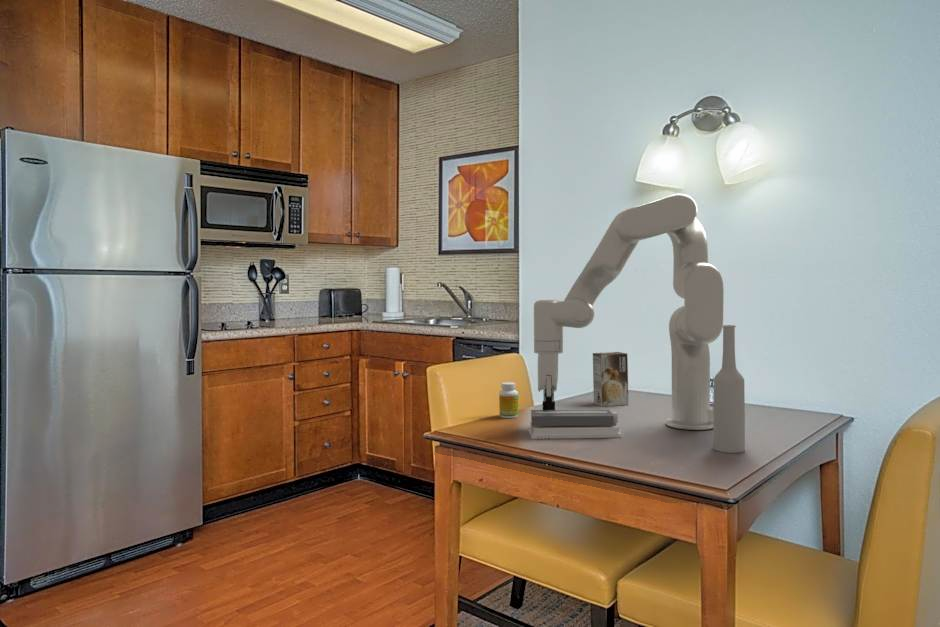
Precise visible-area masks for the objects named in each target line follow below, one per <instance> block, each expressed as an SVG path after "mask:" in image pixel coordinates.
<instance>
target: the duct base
mask: <svg viewBox="0 0 940 627" xmlns="http://www.w3.org/2000/svg"><path fill="white" fill-rule="evenodd" d="M613 424H614V426H532V421H530V427H528V430H529V431H528V430H527V431H528V432H529V435H531V436H530V438H531V440H546V439H547V440H551V439H555V440H557V439H600V438H601V439H602V438H604V439H605V438H622V436H623V435H622V433H621V432H620V427H619V426H618V425H617V423H613ZM538 438H539V439H538ZM541 438H542V439H541ZM545 438H546V439H545ZM548 438H550V439H548Z"/></svg>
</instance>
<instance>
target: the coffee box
mask: <svg viewBox="0 0 940 627" xmlns="http://www.w3.org/2000/svg"><path fill="white" fill-rule="evenodd" d="M628 362H629V361H628V353H626V352H619V351H611V352H610V351H608V352H607V351H606V352H592V376H593V377H592V379H593V381H592V382H593V384H592V386H593V404H594V403H595V405H596V406H600V407H615V406H627V405H629V370H628V368H629V367H628V366H629V364H628Z"/></svg>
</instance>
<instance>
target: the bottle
mask: <svg viewBox="0 0 940 627" xmlns="http://www.w3.org/2000/svg"><path fill="white" fill-rule="evenodd" d="M736 327H737V326H736V325H735V324H723V326H722V359H721V368H720V370H719V371H718V372H717V373H716V374H715V376H713V410H714V411H713V428H712V430H713V431H712V435H713V438H712V439H713V440H712V441H713V445H712V446H713V447H712V448H713V450H714V451H716V452H719V453H726V454H741V453H744V452H745V451H746V431H745V430H746V421H745V420H746V419H745V418H746V414H745V412H746V411H745V410H746V408H745V404H746V403H745V400H746V399H745V378H744V376H743V375H742V374H741V373H740V371H739V370H738V369H737V364H736V362H737V361H736V347H735V346H736V345H735V344H736V342H735V341H736V340H735V339H736V337H735V334H736V333H735V331H736V329H735V328H736Z"/></svg>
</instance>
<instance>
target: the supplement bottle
mask: <svg viewBox="0 0 940 627" xmlns="http://www.w3.org/2000/svg"><path fill="white" fill-rule="evenodd" d="M516 387H517V386H516V383H515V382H512V381H510V382H509V381H505V382H502V383H501V389H502V390H500V391H499V399H498V400H499V417H500V418H502V419H516V418H518V417H519V391H517V389H516Z"/></svg>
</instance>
